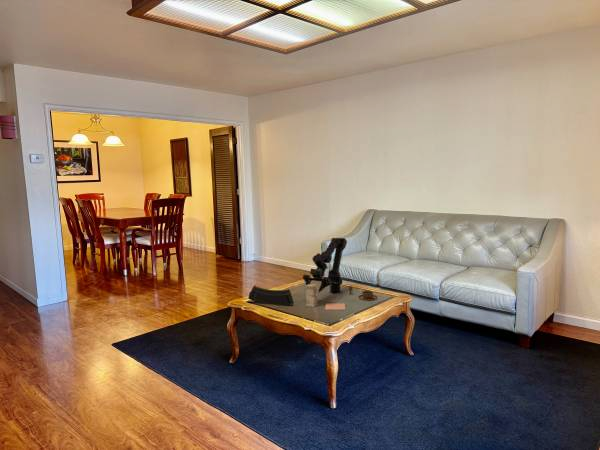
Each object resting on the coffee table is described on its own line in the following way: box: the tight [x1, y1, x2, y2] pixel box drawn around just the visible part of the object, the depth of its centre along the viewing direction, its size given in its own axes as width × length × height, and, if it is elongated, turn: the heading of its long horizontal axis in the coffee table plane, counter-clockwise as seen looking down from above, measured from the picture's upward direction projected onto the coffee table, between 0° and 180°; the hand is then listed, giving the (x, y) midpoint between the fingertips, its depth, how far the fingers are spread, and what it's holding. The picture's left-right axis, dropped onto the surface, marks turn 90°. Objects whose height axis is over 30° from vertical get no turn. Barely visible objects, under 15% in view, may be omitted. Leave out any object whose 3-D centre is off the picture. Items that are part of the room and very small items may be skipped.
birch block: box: [305, 283, 318, 308], centre depth 259 cm, size 5×5×13 cm
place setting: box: [348, 285, 378, 302], centre depth 276 cm, size 18×20×6 cm
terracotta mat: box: [325, 302, 346, 311], centre depth 255 cm, size 12×12×1 cm
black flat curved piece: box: [247, 285, 295, 306], centre depth 264 cm, size 17×3×30 cm
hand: (312, 291), depth 259 cm, fingers open, 9 cm apart
